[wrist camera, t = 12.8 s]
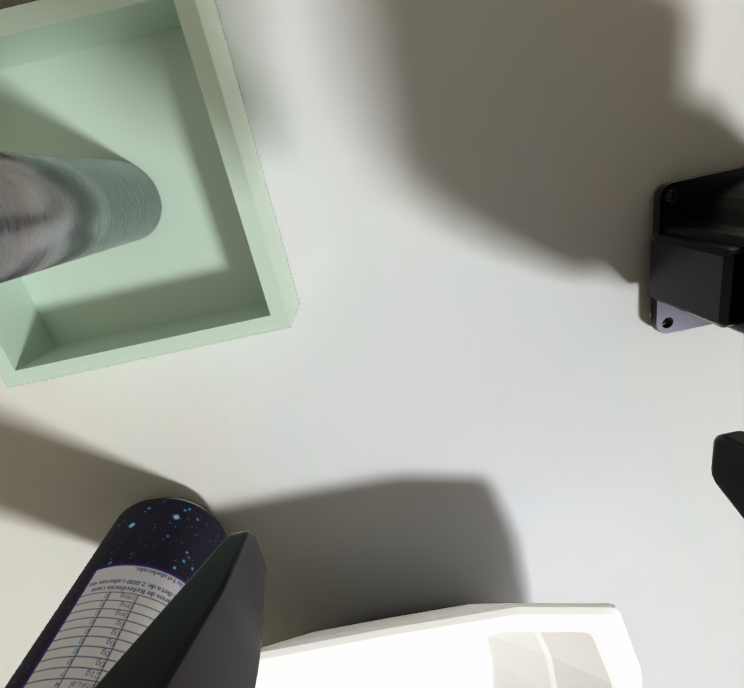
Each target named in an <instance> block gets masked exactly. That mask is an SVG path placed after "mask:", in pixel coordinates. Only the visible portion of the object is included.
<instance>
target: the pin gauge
mask: <svg viewBox="0 0 744 688" xmlns="http://www.w3.org/2000/svg"><path fill="white" fill-rule="evenodd" d="M161 211H162V204H161V198H160V195H159V192H158V189H157V187H156V185H155V184H154V182H153V181H152V179H151V178H150V177H149V176H148V175H147V174H146V173H145V172H144V171H143V170H142V169H141V168H139V167H138V166H136V165H134V164H132V163H130V162H128V161H124V160H120V159H110V158H95V157H79V156H64V155H48V154H33V153H17V152H2V151H0V283H3V282H6V281H10V280H13V279H16V278H19V277H22V276H26V275H29V274H32V273H35V272H38V271H41V270H45V269H48V268H51V267H54V266H57V265H61V264H64V263H67V262H70V261H73V260H77V259H80V258H83V257H86V256H89V255H93V254H96V253H99V252H102V251H105V250H108V249H112V248H115V247H118V246H121V245H124V244H128V243H131V242H134V241H137V240H140V239H143V238H145V237H147V236H148V235H150V234H151V233H152V232H153V231H154V229H155V228H156V227H157V225H158V223H159V221H160V217H161Z"/></svg>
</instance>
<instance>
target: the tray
mask: <svg viewBox="0 0 744 688" xmlns="http://www.w3.org/2000/svg"><path fill="white" fill-rule="evenodd" d="M0 151H2V152H17V153H33V154H48V155H64V156H79V157H95V158H110V159H120V160H124V161H128V162H130V163H132V164H134V165H136V166H138V167H139V168H141V169H142V170H143V171H144V172H145V173H146V174H147V175H148V176H149V177H150V178H151V179H152V181H153V182H154V184H155V185H156V187H157V189H158V192H159V195H160V198H161V204H162V211H161V217H160V221H159V223H158V225H157V227H156V228H155V229H154V231H153V232H152V233H151V234H150V235H148V236H147V237H145V238H143V239H140V240H137V241H134V242H131V243H128V244H124V245H121V246H118V247H115V248H112V249H108V250H105V251H102V252H99V253H96V254H93V255H89V256H86V257H83V258H80V259H77V260H73V261H70V262H67V263H64V264H61V265H57V266H54V267H51V268H48V269H45V270H41V271H38V272H35V273H32V274H29V275H26V276H22V277H19V278H16V279H13V280H10V281H6V282H3V283H0V376H1V378H2V379H3V381H4V383H5V385H6V386H7V388H11V387H16V386H21V385H25V384H30V383H35V382H39V381H44V380H49V379H53V378H58V377H63V376H67V375H72V374H76V373H81V372H86V371H90V370H95V369H100V368H104V367H109V366H114V365H118V364H123V363H127V362H132V361H137V360H141V359H146V358H151V357H155V356H160V355H165V354H169V353H174V352H179V351H183V350H188V349H192V348H197V347H202V346H206V345H211V344H216V343H220V342H225V341H230V340H234V339H239V338H243V337H248V336H253V335H257V334H262V333H267V332H271V331H276V330H281V329H285V328H290V327H291V326H292V323H293V321H294V318H295V315H296V313H297V310H298V307H299V305H300V303H299V299H298V296H297V292H296V289H295V285H294V281H293V278H292V274H291V271H290V267H289V264H288V260H287V257H286V253H285V249H284V246H283V242H282V239H281V235H280V232H279V228H278V224H277V221H276V217H275V214H274V210H273V207H272V203H271V199H270V196H269V192H268V189H267V185H266V182H265V178H264V175H263V171H262V167H261V164H260V160H259V157H258V153H257V150H256V146H255V142H254V139H253V135H252V132H251V128H250V125H249V121H248V117H247V114H246V110H245V107H244V103H243V100H242V96H241V93H240V89H239V85H238V82H237V78H236V75H235V71H234V68H233V64H232V60H231V57H230V53H229V50H228V46H227V43H226V39H225V35H224V32H223V28H222V25H221V21H220V18H219V14H218V11H217V7H216V3H215V2H214V1H213V0H37V1H33V2H29V3H25V4H21V5H17V6H13V7H9V8H5V9H0Z"/></svg>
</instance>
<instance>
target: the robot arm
mask: <svg viewBox="0 0 744 688" xmlns="http://www.w3.org/2000/svg"><path fill="white" fill-rule="evenodd" d="M670 190H671V191H672V197H671V198H670V199H669V200H668V201H667V199H666V196H667V193H668V192H669V191H670ZM650 296H651V325H652V327H653V328H654V329H655V330H657V331H659V332H661V333H671V332H676V331H680V330H685V329H690V328H695V327H699V326H704V325H709V324H715V325H717V326H719V327H724V328H725V327H728V328H731V329H733V330H736V331H738V332H740V333H743V334H744V165H743V166H739V167H734V168H730V169H725V170H721V171H716V172H711V173H707V174H702V175H698V176H693V177H689V178H684V179H680V180H675V181H671V182H666V183H664V184H662V185H660V186H659V187H658V188H657V190H656V192H655V194H654V211H653V238H652V240H651V250H650ZM666 318H668V319H667V322H666V323H665V324H664V325H662V322H663V321H664V319H666ZM711 471H712V476H713V478H714V480H715V482H716V484H717V485H718V486H719V488H720V489H721V490H722V491H723V493H724V494H725V495H726V497H727V498H728V499H729V500H730V502H731V503H732V504H733V505H734V507H735V508H736V509H737V511H738V512H739V513H740V514H741V516H742V517H743V518H744V432H743V431H735V432H730V433H725V434H720V435H718V436H717V437H716V438H715V440H714V445H713V456H712V468H711ZM265 576H266V568H265V562H264V559H263V556H262V554H261V551H260V549H259V546H258V544H257V541H256V539H255V536H254V534H253V533H252V532H251V531H248V530H246V531H241V532H236V533H232V534H230V535H229V536H227V537H226V539H225V540H224V541H223V542H222V543H221V544H220V545H219V546H218V548H217V549H216V550H215V551H214V552H213V553H212V554H211V556H210V557H209V558H208V559H207V560H206V561H205V562H204V563H203V565H202V566H201V567H200V568H199V569H198V570H197V571H196V573H195V574H194V575H193V576H192V577H191V578H190V579H189V580H188V582H187V583H186V584H185V585H184V586H183V587H182V588H181V590H180V591H179V592H178V593H177V594H176V595H175V596H174V597H173V599H172V600H171V601H170V602H169V603H168V604H167V605H166V607H165V608H164V609H163V610H162V611H161V612H160V613H159V614H158V616H157V617H156V618H155V619H154V620H153V621H152V622H151V624H150V625H149V626H148V627H147V628H146V629H145V630H144V631H143V633H142V634H141V635H140V636H139V637H138V638H137V639H136V641H135V642H134V643H133V644H132V645H131V646H130V647H129V648H128V650H127V651H126V652H125V653H124V654H123V655H122V656H121V658H120V659H119V660H118V661H117V662H116V663H115V664H114V665H113V667H112V668H111V669H110V670H109V671H108V672H107V673H106V675H105V676H104V677H103V678H102V679H101V680H100V681H99V682H98V684H97V685H96V686H95V687H94V688H255V687H256V681H257V675H258V668H259V661H260V652H261V640H262V624H263V608H264V592H265Z"/></svg>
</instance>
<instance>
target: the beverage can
mask: <svg viewBox="0 0 744 688" xmlns="http://www.w3.org/2000/svg"><path fill="white" fill-rule="evenodd" d="M225 539H226V535H225V532H224V530H223V528H222V527H221V525H220V524H219V523H218V521H217V520H216V519H215V518H214V517H213V516H212V515H211V514H210V513H209V512H208V511H207V510H205V509H204V508H203V507H202V506H200V505H198V504H196V503H194V502H192V501H189V500H185V499H180V498H157V499H150V500H145V501H142V502H139V503H137V504H135V505H133V506H131V507H129V508H128V509H126V510H125V511H124V512H123V513H122V514H121V515H120V516H119V517H118V519H117V520H116V522H115V523H114V525H113V526H112V528H111V529H110V531H109V532H108V534H107V535H106V537H105V538H104V540H103V541H102V543H101V544H100V546H99V547H98V549H97V550H96V552H95V553H94V555H93V556H92V558H91V559H90V561H89V562H88V564H87V565H86V567H85V568H84V570H83V571H82V573H81V574H80V576H79V577H78V579H77V580H76V582H75V583H74V585H73V586H72V588H71V589H70V591H69V592H68V594H67V595H66V597H65V598H64V600H63V601H62V603H61V604H60V606H59V607H58V609H57V610H56V612H55V613H54V615H53V616H52V618H51V619H50V621H49V622H48V624H47V625H46V627H45V628H44V630H43V631H42V633H41V634H40V636H39V637H38V639H37V640H36V642H35V643H34V645H33V646H32V648H31V649H30V651H29V652H28V654H27V655H26V657H25V658H24V660H23V661H22V663H21V664H20V666H19V667H18V669H17V670H16V672H15V673H14V675H13V676H12V678H11V679H10V681H9V682H8V684H7V685H6V687H5V688H94V687H95V686H96V685H97V684H98V682H99V681H100V680H101V679H102V678H103V677H104V676H105V675H106V673H107V672H108V671H109V670H110V669H111V668H112V667H113V665H114V664H115V663H116V662H117V661H118V660H119V659H120V658H121V656H122V655H123V654H124V653H125V652H126V651H127V650H128V648H129V647H130V646H131V645H132V644H133V643H134V642H135V641H136V639H137V638H138V637H139V636H140V635H141V634H142V633H143V631H144V630H145V629H146V628H147V627H148V626H149V625H150V624H151V622H152V621H153V620H154V619H155V618H156V617H157V616H158V614H159V613H160V612H161V611H162V610H163V609H164V608H165V607H166V605H167V604H168V603H169V602H170V601H171V600H172V599H173V597H174V596H175V595H176V594H177V593H178V592H179V591H180V590H181V588H182V587H183V586H184V585H185V584H186V583H187V582H188V580H189V579H190V578H191V577H192V576H193V575H194V574H195V573H196V571H197V570H198V569H199V568H200V567H201V566H202V565H203V563H204V562H205V561H206V560H207V559H208V558H209V557H210V556H211V554H212V553H213V552H214V551H215V550H216V549H217V548H218V546H219V545H220V544H221V543H222V542H223V541H224V540H225Z"/></svg>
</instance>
